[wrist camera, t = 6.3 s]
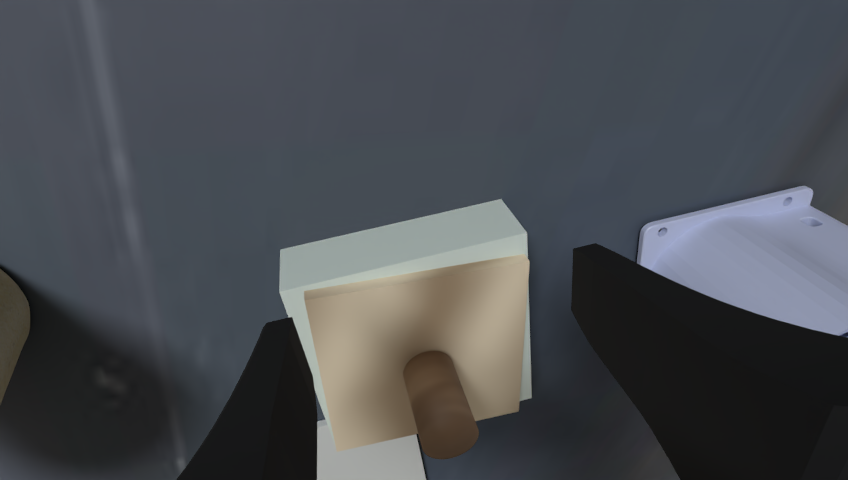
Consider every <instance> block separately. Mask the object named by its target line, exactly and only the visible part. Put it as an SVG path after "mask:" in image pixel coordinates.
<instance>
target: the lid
mask: <svg viewBox="0 0 848 480" xmlns="http://www.w3.org/2000/svg"><path fill="white" fill-rule="evenodd" d="M529 265H530V261H529V260H528V258H527V257H526V256H525V254H521V255H515V256H509V257H503V258H497V259H491V260H485V261H479V262H473V263H467V264H461V265H455V266H449V267H443V268H437V269H431V270H425V271H419V272H413V273H408V274H402V275H396V276H390V277H384V278H378V279H372V280H366V281H360V282H355V283H349V284H343V285H337V286H331V287H325V288H319V289H313V290H307V291H304V301H305V305H306V310H307V315H308V319H309V324H310V329H311V333H312V338H313V343H314V348H315V352H316V357H317V362H318V366H319V371H320V376H321V380H322V385H323V390H324V394H325V399H326V404H327V408H328V413H329V418H330V422H331V427H332V432H333V436H334V441H335V446H336V451H337V452H339V451H343V450H348V449H352V448H357V447H361V446H366V445H370V444H375V443H379V442H384V441H388V440H393V439H397V438H402V437H406V436H411V435H415V434H418V435H419V438H420V442H421V446H422V449H423V451H424V453H425V454H426V455H428V456H429V457H432V458H435V459H449V458H453V457H456V456H459V455H461V454H463V453H465V452H466V451H468V450H469V449H470V448H471V447H472V446H473V445H474V444H475V443H476V441H477V439H478V436H479V430H478V427H477V425H476V422H475V421H478V420H483V419H487V418H492V417H496V416H501V415H505V414H510V413H514V412H519V400H520V387H521V373H522V360H523V346H524V333H525V319H526V306H527V292H528V279H529Z"/></svg>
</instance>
